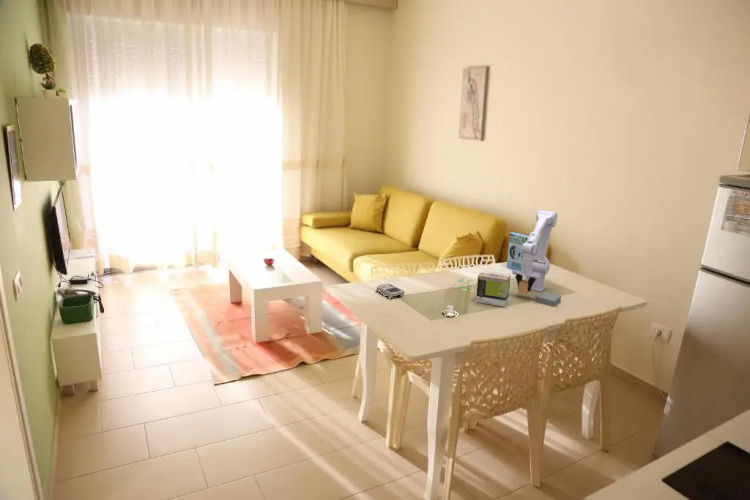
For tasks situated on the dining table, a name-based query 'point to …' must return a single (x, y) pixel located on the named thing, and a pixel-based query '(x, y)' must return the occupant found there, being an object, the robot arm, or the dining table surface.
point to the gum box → (516, 250)
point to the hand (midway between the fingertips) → (524, 289)
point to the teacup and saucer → (450, 311)
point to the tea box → (493, 288)
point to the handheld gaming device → (389, 290)
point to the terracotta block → (523, 287)
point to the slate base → (548, 298)
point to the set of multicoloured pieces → (465, 283)
